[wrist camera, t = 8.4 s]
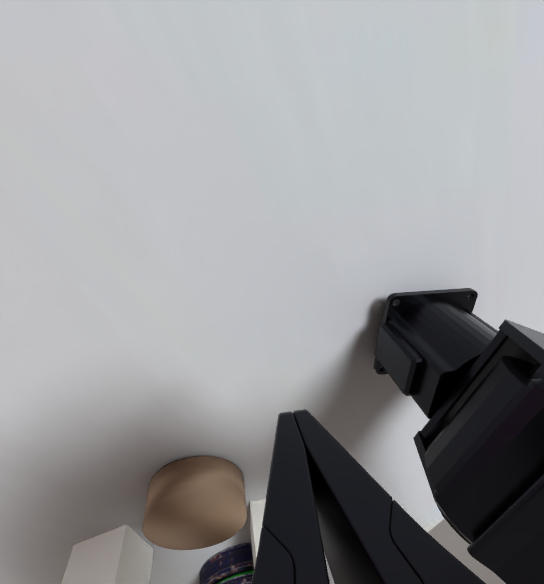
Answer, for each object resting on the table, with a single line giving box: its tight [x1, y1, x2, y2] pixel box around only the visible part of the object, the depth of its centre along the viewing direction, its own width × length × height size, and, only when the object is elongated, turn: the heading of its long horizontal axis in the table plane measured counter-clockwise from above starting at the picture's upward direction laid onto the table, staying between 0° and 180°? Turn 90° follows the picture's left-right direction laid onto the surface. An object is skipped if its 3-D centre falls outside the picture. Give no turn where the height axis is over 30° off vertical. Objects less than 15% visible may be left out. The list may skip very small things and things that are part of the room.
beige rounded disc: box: [143, 456, 247, 550], centre depth 27 cm, size 8×8×3 cm
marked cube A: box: [250, 499, 266, 568], centre depth 30 cm, size 5×5×5 cm
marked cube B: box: [61, 524, 154, 584], centre depth 28 cm, size 5×5×5 cm
